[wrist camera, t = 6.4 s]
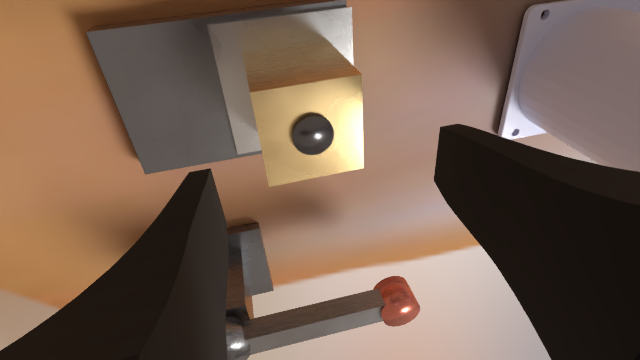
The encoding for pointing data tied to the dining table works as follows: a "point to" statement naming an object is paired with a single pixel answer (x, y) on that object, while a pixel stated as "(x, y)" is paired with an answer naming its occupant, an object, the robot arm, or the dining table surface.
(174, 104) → the press
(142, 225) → the dining table surface
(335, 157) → the housing
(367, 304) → the lever
